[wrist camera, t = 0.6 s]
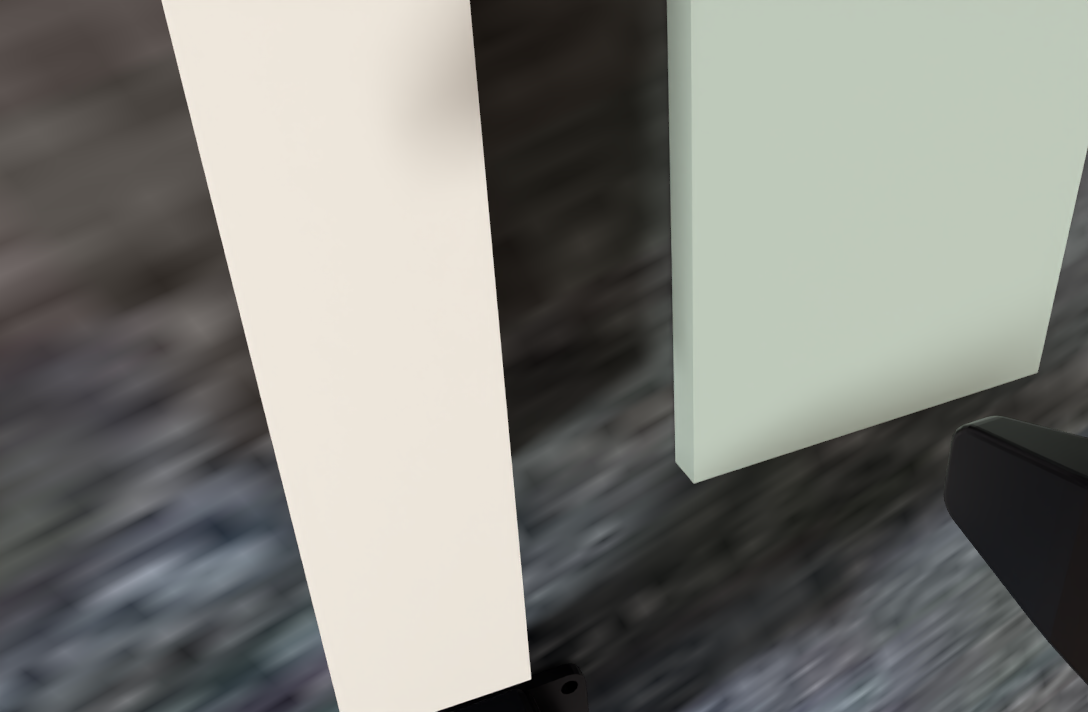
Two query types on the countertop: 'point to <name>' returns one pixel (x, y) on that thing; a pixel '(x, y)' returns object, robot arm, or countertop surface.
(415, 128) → the block
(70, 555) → the countertop surface
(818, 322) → the bracket board
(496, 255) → the countertop surface
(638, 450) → the countertop surface
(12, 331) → the countertop surface
